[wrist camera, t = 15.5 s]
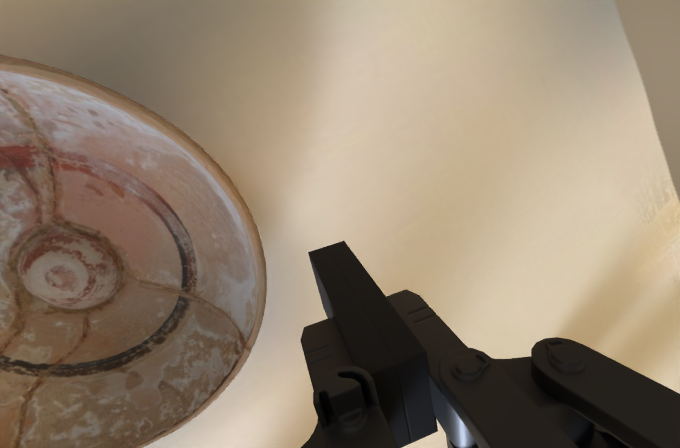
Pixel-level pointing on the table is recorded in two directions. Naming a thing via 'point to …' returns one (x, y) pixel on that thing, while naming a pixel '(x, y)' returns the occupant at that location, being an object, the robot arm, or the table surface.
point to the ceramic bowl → (114, 268)
